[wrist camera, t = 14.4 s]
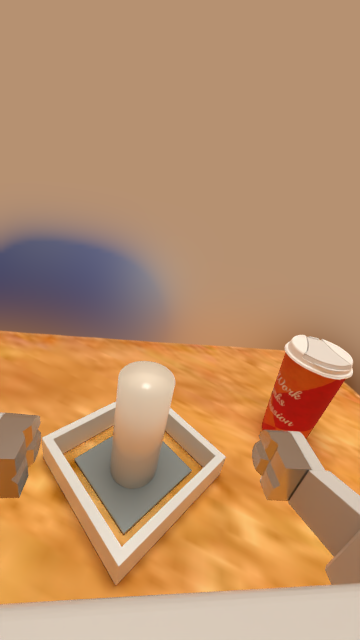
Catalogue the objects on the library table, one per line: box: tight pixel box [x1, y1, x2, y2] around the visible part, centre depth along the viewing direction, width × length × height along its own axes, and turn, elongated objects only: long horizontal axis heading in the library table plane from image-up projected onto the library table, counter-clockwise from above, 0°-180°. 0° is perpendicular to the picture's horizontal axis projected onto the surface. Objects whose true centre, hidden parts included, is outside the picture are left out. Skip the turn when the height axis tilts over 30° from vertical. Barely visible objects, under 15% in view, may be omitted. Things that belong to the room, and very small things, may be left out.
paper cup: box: [262, 335, 353, 439], centre depth 33 cm, size 8×8×14 cm
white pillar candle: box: [110, 361, 175, 489], centre depth 25 cm, size 5×5×12 cm
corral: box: [42, 402, 226, 585], centre depth 28 cm, size 14×14×3 cm
